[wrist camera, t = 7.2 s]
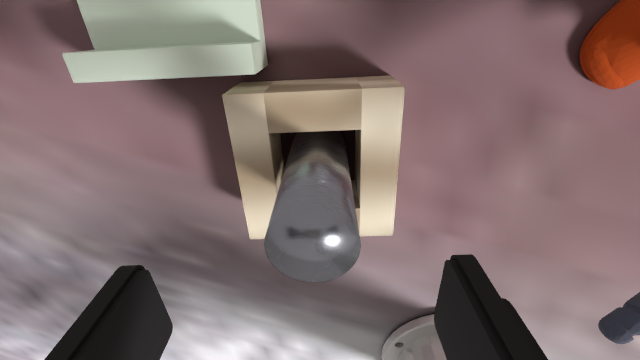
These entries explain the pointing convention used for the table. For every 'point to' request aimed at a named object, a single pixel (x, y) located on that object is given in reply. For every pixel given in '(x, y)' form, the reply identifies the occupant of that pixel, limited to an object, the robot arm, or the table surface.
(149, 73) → the tray
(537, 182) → the table surface
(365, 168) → the socket
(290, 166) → the grey round peg
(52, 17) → the table surface
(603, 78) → the toy drill
